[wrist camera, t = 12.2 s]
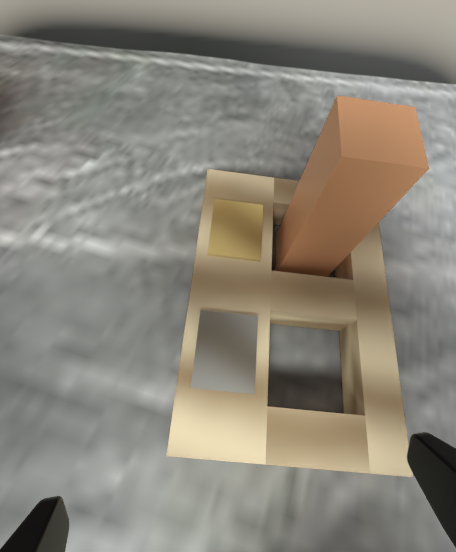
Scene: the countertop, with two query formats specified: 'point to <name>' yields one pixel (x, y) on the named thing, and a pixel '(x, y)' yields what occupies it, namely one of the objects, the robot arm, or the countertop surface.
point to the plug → (349, 183)
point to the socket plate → (255, 344)
